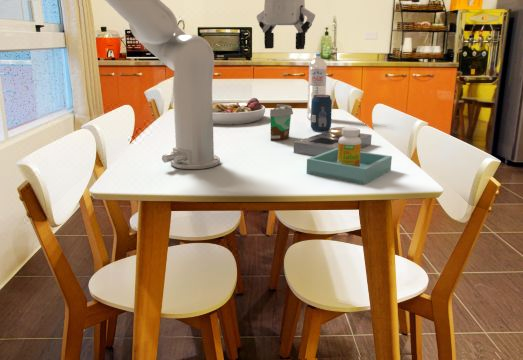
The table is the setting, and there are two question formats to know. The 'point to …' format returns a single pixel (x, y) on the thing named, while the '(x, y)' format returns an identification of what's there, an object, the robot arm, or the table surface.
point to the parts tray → (349, 167)
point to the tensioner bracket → (325, 142)
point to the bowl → (237, 112)
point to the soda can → (321, 113)
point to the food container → (280, 122)
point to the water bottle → (316, 80)
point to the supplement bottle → (349, 147)
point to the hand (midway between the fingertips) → (284, 48)
